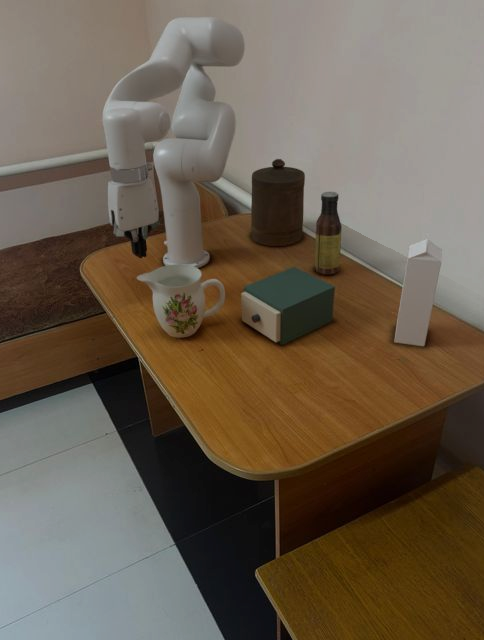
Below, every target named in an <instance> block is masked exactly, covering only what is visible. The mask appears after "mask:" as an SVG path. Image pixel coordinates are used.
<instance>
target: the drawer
mask: <svg viewBox="0 0 484 640" xmlns="http://www.w3.org/2000/svg"><path fill="white" fill-rule="evenodd" d="M240 302H241V303H240V304H241V321H242V322H244V323H245V324H247V325H248V326H250V327H251V328H253V329H254V330H256V331H257V332H259V333H260V334H262V335H264V336H265V337H267V338H268V339H269V340H271V341H272V342H274V343H278V341H280V328H281V311H279V310H277V309H276V308H274V307H272V306H271V305H269V304H267V303H265V302H264V301H262V300H260V299H259V298H257V297H255V296H253V295H251V294H249V293H247V292H244V291H243V292H241V293H240Z"/></svg>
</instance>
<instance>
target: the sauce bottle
mask: <svg viewBox="0 0 484 640" xmlns="http://www.w3.org/2000/svg"><path fill="white" fill-rule="evenodd" d="M320 200H321V209H320V214H319V216H318V218H317V220H316V223H315V224H316V225H315V226H316V229H315V230H316V231H315V245H314V246H315V247H314V248H315V250H314V251H315V253H314V269H315V271H316V272H317V273H318V274H319V275H324V276H330V275H334V274H337V273H338V272H339V270H340V265H341V249H342V248H341V247H342V223H341V219H340V216H339V212H338V201H339V193H338V192H336V191H325V192H322V193H321V195H320Z"/></svg>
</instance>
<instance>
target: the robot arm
mask: <svg viewBox="0 0 484 640" xmlns="http://www.w3.org/2000/svg"><path fill="white" fill-rule="evenodd" d="M245 47H246V46H245V38H244V36H243V33H242V31H241V30H240V28H238V27H237V26H236V25H234V24H231V23H229V22H227V21H225V20H223V19H221V18H217V17H213V16H188V17H184V16H183V17H176V18H174V19H172V20H170V21H169V22H167V24H166V26H165V28H164V30H163V32H162V34H161V36H159V40H158V42H157V43H156V45H155V48H154V49H153V51H152V53H151V55H150V57H149V60H147V61H146V62H144V63H143V64H140V65H139V66H137V67H136V68H135V69H133V70H132V71H130V72H129V73H128V74H126V75H125V76H123V77H122V78H120V80H119V81H117V82H116V84H115V85H114V87H113V88H112V90H111V91H110V93H109V95H108V96H107V99H106V101H105V104H104V107H103V110H102V116H101V119H102V120H101V121H102V126H103V131H104V138H105V144H106V150H107V157H108V158H107V159H108V162H109V170H110V177H111V181H108V182H107V183H108V184H107V208H108V210H107V211H108V217H109V218H108V219H109V223H110V226H112V227H113V231H112V232H113V235H114V236H115V237H117V238H118V237H119V238H121V237H126V238H128V239H129V240H130V246H131V252H132V254H133V255H134V256H136V257H137V258H138V259H143V258H146V257H147V256H148V255H147V252H148V246H147V239H148V237H149V234H150V233H151V231H152V229H154V228H156V227H158V226H159V224H160V222H159V216H160V215H159V214H160V213H159V206H158V201H157V200H158V199H157V195H156V191H155V188H154V185H153V181H152V178H151V177H150V176H149V172H150V171H152V170H153V166H154V169H155V172H156V175H157V178H158V183H159V187H160V193H161V201H162V210H163V220H164V228H165V236H166V240H164V241H163V245H164V246H166V247H167V252H166V253H165V254H164V255H163V257H162V262H163V264H164V266H168V265H175V264H184V265H191V266H194V267H196V268H198V269H199V268H202V267H204V266H206V265H207V264H209V262H210V258H211V257H210V253H209V252H208V251H207V250H206V249H204V239H203V225H202V211H201V210H202V209H201V197H200V194H199V190H198V189H197V186H196V185H195V183H194V182H198V183H216V182H217V181H218V180H220V179H221V178H222V176H223V174H224V171H225V168H226V165H227V163H228V159H229V155H230V152H231V148H232V145H233V142H234V139H235V133H236V127H237V119H236V114H235V110H234V109H233V107H232V106H231V105H230V104H229V103H227V102H225V101H215V99H216V87H215V85H214V83H213V81H212V79H211V78H210V76H209V75H208V74H207V72H206V71H205V69H204V67H218V68H219V67H221V68H222V67H224V68H225V67H227V68H229V67H231V68H232V67H235V66H237V65H239V64H240V63H241V62H242V60H243V58H244V54H245V49H246V48H245ZM180 88H181V89H180ZM179 89H180V94H179V95H178V99H177V102H176V106H175V109H174V112H173V114H172V118H171V115H170V112H169V110H168V109H167V108H166V107H165V106H164V105H163V104H161V103H159V102H154V101H151V100H154V99H157V98H161V97H164V96H167V95H170V94H172V93H174V92H176V91H177V90H179ZM170 129H171V132H172V134H173V136H174V137H170V138H165V137H166V136H167V135H168V133H169V131H170ZM164 138H165V139H164ZM158 141H159V142H158ZM153 142H158V143H157V144H156V145H155V147H154V149H153V154H152V160H153V165H152V164H151V163H147V157H146V147H145V144H146V143H147V144H148V143H153Z"/></svg>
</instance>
